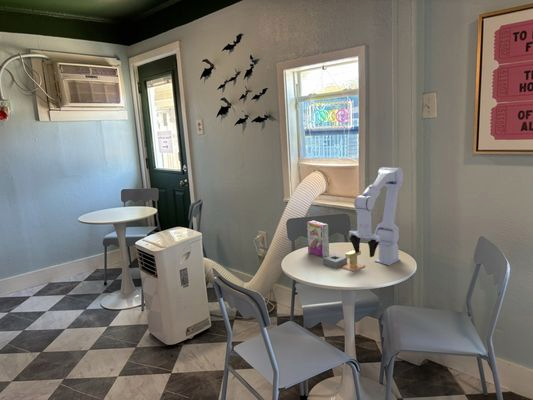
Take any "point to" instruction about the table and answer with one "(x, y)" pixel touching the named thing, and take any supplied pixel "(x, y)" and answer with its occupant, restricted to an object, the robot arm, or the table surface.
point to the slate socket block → (335, 260)
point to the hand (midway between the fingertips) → (364, 254)
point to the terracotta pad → (352, 267)
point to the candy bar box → (318, 238)
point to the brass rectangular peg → (353, 257)
